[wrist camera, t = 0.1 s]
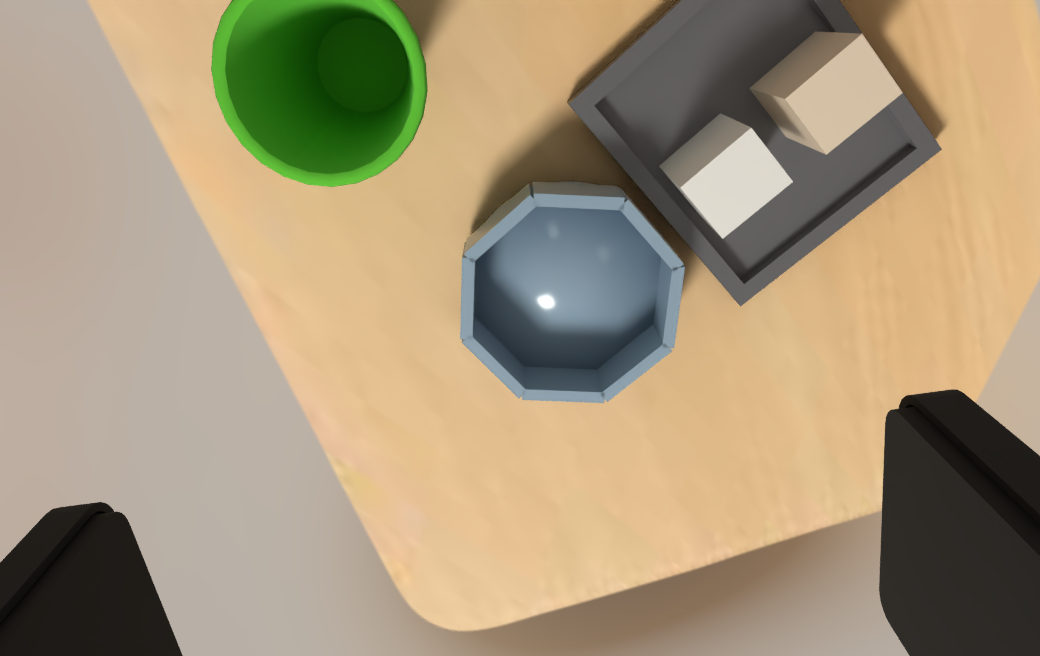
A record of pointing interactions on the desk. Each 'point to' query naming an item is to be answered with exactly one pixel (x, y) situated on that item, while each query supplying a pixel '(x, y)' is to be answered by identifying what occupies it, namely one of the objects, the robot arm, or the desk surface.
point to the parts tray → (725, 89)
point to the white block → (726, 173)
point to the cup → (320, 85)
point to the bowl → (569, 292)
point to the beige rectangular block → (826, 89)
